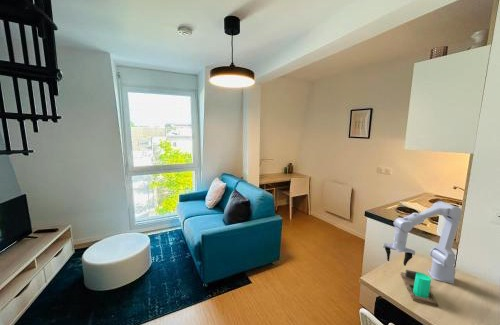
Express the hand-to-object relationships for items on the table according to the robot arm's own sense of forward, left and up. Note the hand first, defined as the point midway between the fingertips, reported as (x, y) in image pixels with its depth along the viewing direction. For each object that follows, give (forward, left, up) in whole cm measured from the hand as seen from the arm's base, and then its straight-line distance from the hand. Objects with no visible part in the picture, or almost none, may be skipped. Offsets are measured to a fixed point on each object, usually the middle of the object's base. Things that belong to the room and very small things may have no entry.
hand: (396, 262), depth 117 cm
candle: (-9, +9, -10) cm, 16 cm away
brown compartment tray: (-9, +5, -10) cm, 14 cm away
